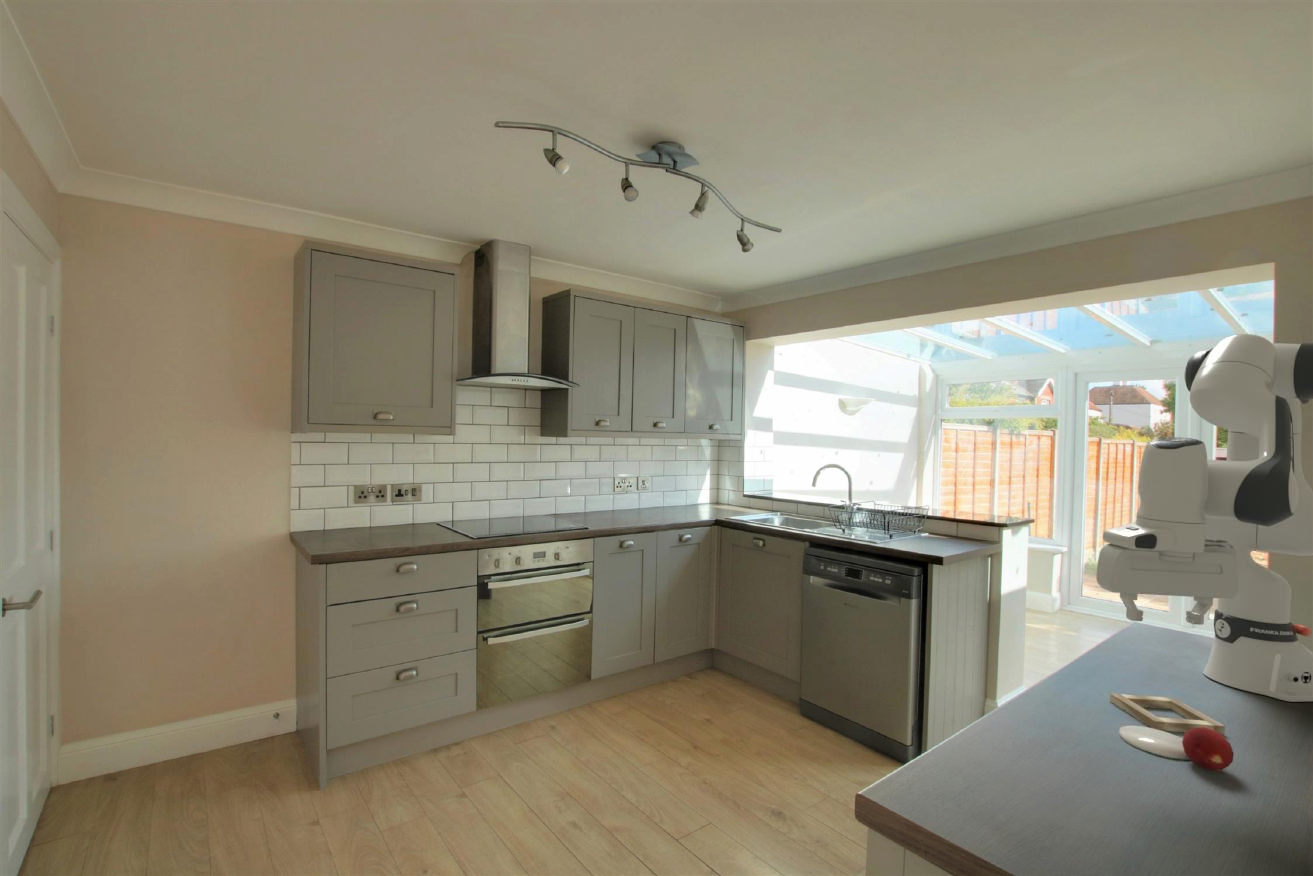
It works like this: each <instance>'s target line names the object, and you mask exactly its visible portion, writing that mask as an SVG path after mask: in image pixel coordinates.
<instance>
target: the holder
mask: <svg viewBox="0 0 1313 876" xmlns="http://www.w3.org/2000/svg"><path fill="white" fill-rule="evenodd" d="M1109 696H1110V699H1109V702H1110V701H1111V703H1112V704H1113V703H1114V704H1113V705H1114V706H1117V707H1118V708H1119V709H1121V710H1123V711H1124V710H1125V711H1124V712H1126V713H1127V714H1128V715H1131V717H1133V718H1135V719H1137V720H1138V721H1140V722H1141V723H1143V724H1145V725H1146V727H1149V728H1153V729H1157V730H1161V731H1164V732H1178V733H1179V732H1180V733H1187V732H1188V731H1189V730H1191V729H1193V728H1199V727H1205V728H1208V729H1212V730H1214V731H1216V732H1218V733H1219V734H1221V735H1222V736H1224V735H1225V733H1226V731H1225V730H1226V726H1225V725H1224V724H1222V723H1220V722H1218V721H1216V720H1215V719H1213V718H1211V717H1210V716H1207V714H1204V713H1202V712H1200V711H1198V710H1197V709H1195V708H1192V707H1191V706H1189V705H1188V704H1185V703H1184V702H1182V701H1180V700H1178V699H1177V698H1176V697H1168V696H1153V695H1139V694H1138V695H1137V694H1125V693H1124V694H1122V693H1110V695H1109ZM1140 706H1141V707H1140ZM1148 707H1155V708H1154V709H1164V710H1165V709H1166V710H1172V711H1174V713H1177V714H1178V715H1180V716H1182V717H1183V718H1171V717H1158V716H1156V715H1155V714H1154V713H1152V712H1151V711H1149V710H1146V709H1145V708H1148Z"/></svg>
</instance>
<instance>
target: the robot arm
mask: <svg viewBox="0 0 1313 876" xmlns="http://www.w3.org/2000/svg"><path fill="white" fill-rule="evenodd" d="M1184 383H1185V386H1186V388H1187V391H1188V392H1189V403H1190V404H1191V408H1192V409H1193V410H1194V411H1195V413H1196V415H1198V416H1199V417H1200V418H1202V419H1203V420H1204V421H1206V422H1207V423H1209V424H1211V425H1213V426H1216V427H1218V428H1222V429H1225V430H1227V442H1226V443H1227V444H1226V445H1227V446H1226V459H1225V460H1223V459H1222V460H1220V459H1219V460H1218V459H1208V453H1207V448H1206V444H1205V442H1204V441H1202V440H1200V439H1197V438H1191V437H1180V436H1179V437H1161V438H1160V437H1159V438H1155V439H1154V438H1153V440H1150V441H1148V442H1147V443H1146V444H1145V447H1144V448H1143V449H1144V450H1143V453H1142V457H1141V462H1140V467H1139V474H1138V485H1137V492H1138V495H1139V500H1140V502H1139V507H1138V509H1137V513H1136V517H1135V518H1136V520H1135V521H1134V522H1131V523H1127V524H1124V525H1120V526H1116V527H1112V528H1108V529H1105V530H1104V531H1103V533H1102V539H1103V541H1104V542H1105V543H1106V544H1105V545H1104V546H1103V547H1101V549H1100V551H1099V554H1098V560H1097V567H1096V582H1097V584H1098V585H1099V587H1100V588H1102V589H1103V590H1105V591H1108V592H1111V593H1119V597H1120V599H1121V601H1122V603H1123V605H1124V607H1125V608H1126V610H1125V611H1126V613H1125V614H1126V615H1125V616H1126V617H1125V618H1126V619H1128V620H1129V621H1132V622H1142V621H1143V620H1144V617H1143V616H1144V610H1142V609H1139V608H1138V607H1137V605H1136V602H1135V601H1137V600H1138V595H1153V596H1157V595H1158V596H1173V597H1188V598H1189V597H1192V598H1193V601H1195V602H1196V603H1195V604H1194V606H1193V607H1192V609H1191V610H1186V613H1185V615H1186V617H1185V620H1186V622H1187V623H1189V624H1191V625H1199V626H1201V625H1204V622H1205V615H1206V614H1207V612H1208V611H1209V610H1210V609H1211V607H1212V606H1213V605H1214V599H1217V609H1215V610H1214V615H1213V629H1214V638H1213V643H1212V646H1211V651H1210V654H1209V658H1208V661H1207V663H1206V666H1205V668H1204V669H1203V674H1204V675H1205V676H1206V677H1208V678H1209V679H1211V680H1213V681H1216V682H1217V683H1220V684H1223V685H1226V686H1229V687H1232V688H1235V689H1238V690H1242V691H1246V692H1250V693H1253V694H1259V695H1263V696H1268V697H1271V698H1274V699H1278V700H1280V701H1281V700H1282V701H1284V702H1285V701H1286V702H1291V703H1292V702H1295V703H1296V702H1298V703H1299V702H1313V651H1311V650H1310V649H1309V648H1307V647H1306V646H1304V644H1302V643H1301V642H1299V638H1298V635H1301V636H1303V637H1306V638H1307V637H1310V636H1311V635H1312V633H1313V631H1312V629H1311V627H1309V626H1305V625H1302V624H1293V623H1292V622H1291V620H1290V618H1291V605H1292V604H1291V603H1292V601H1291V599H1292V587H1291V585H1290V584H1289V582H1288V581H1287V579H1285V578H1284V577H1283V576H1282V575H1281V574H1278V573H1277V572H1275V571H1273V570H1271V569H1270V568H1267V566H1266V567H1265V566H1263V565H1261V564H1259V563H1258V562H1256V561H1255V560H1254V559H1253V557H1252V554H1251V552H1253V551H1256V552H1257V551H1258V552H1259V551H1261V552H1266V553H1267V552H1268V553H1275V554H1283V555H1292V556H1301V557H1303V556H1304V557H1306V556H1307V557H1309V556H1310V557H1311V556H1312V557H1313V489H1312V488H1311V486H1310V485H1309V484H1308V482H1307V480H1306V478H1305V476H1304V472H1303V467H1302V466H1303V465H1302V435H1303V434H1302V431H1303V429H1302V428H1303V423H1302V422H1303V417H1302V415H1303V414H1302V407H1301V404H1302V405H1305V404H1308V403H1309V402H1310V400H1312V399H1313V342H1301V343H1279V342H1277V343H1276V342H1275V343H1272V342H1271V341H1270V340H1269V339H1267V338H1265V337H1263V336H1261V335H1256V334H1250V333H1249V334H1248V333H1239V334H1234V335H1231V336H1228V337H1226V338H1224V339H1222V340H1220V341H1219V342H1217V344H1215V346H1214V347H1211V348H1206V349H1202V350H1198V351H1197V352H1195V353H1194V354H1193V355H1191V356H1190V357H1189V358H1188V361H1187V363H1186V366H1185V369H1184Z"/></svg>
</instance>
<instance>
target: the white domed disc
mask: <svg viewBox="0 0 1313 876" xmlns="http://www.w3.org/2000/svg"><path fill="white" fill-rule="evenodd" d="M1118 731H1119V733H1118V735H1119V736H1120V737H1119V738H1121V739H1122V740H1123V741H1124V742H1126V743H1127V744H1129V745H1130V746H1133V747H1134V748H1137V749H1139V750H1142V751H1144V752H1146V751H1148V752H1147V753H1149V752H1151V753H1150V754H1152V755H1155V754H1157V755H1156V756H1159V755H1161V756H1160V757H1164V758H1167V757H1168V759H1173V758H1174V760H1183V761H1185V760H1186V759H1187V760H1190V758H1189V757H1188V756H1187V755H1186V753H1185V752H1184V748H1183V744H1182V741H1183V738H1182V737H1180V736H1178V735H1175V734H1173V733H1170V732H1168V731H1163V730H1157V729H1153V728H1151V727H1149V726H1143V725H1141V726H1140V725H1125V726H1121V727H1120V728H1119V730H1118Z"/></svg>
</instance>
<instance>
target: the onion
mask: <svg viewBox="0 0 1313 876" xmlns="http://www.w3.org/2000/svg"><path fill="white" fill-rule="evenodd" d="M1182 739H1183V741H1182V744H1183V748H1184V752H1185V753H1186V755H1187V756H1188V757H1189V758H1190V759H1189V760H1190V761H1191V762H1193V764H1195V765H1197V766H1198V767H1201V768H1203V769H1207V770H1210V771H1221V770H1225V769H1226V768H1228V767H1229V766H1230V765H1231V764H1232V763H1233V761H1234V756H1235V755H1234V750H1233V748H1232V745H1231V743H1230V742H1229V741H1228V739H1227V738H1226V737H1225V736H1224V735H1221V734H1219V733H1218V732H1216V731H1214V730H1212V729H1208V728H1205V727H1199V728H1193V729H1191V730H1189V731H1188V732H1185V733H1184V734H1183V738H1182Z"/></svg>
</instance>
